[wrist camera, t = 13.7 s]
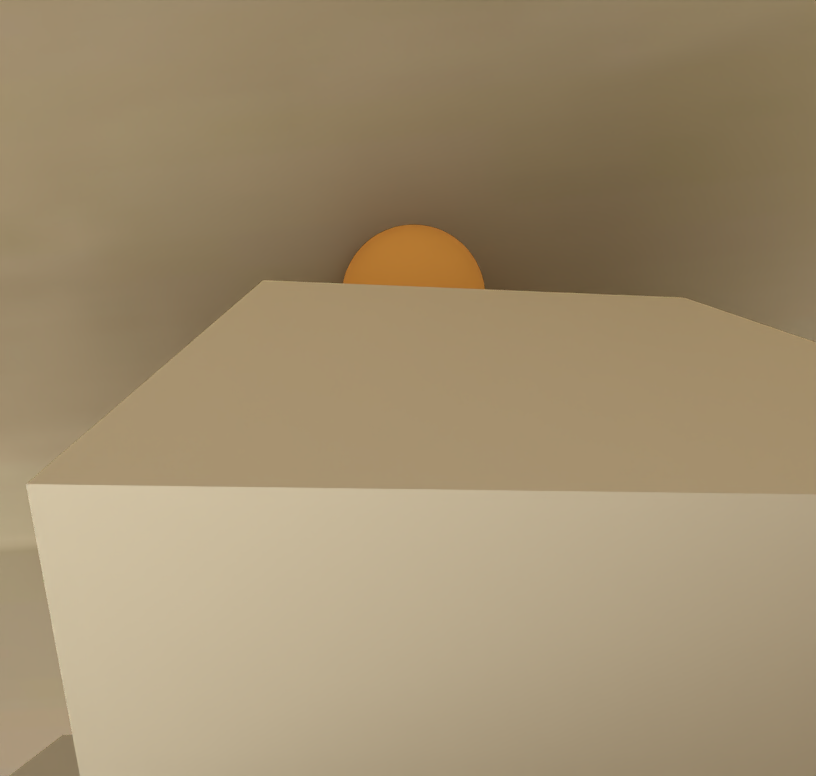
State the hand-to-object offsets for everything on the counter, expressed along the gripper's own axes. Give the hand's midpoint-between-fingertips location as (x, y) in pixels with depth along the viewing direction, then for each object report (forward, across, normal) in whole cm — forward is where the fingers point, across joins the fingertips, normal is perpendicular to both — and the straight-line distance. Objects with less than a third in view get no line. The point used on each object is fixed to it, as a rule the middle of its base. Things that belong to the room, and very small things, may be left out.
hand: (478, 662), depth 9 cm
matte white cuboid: (+2, 0, 0) cm, 2 cm away
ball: (+13, 0, +3) cm, 14 cm away
